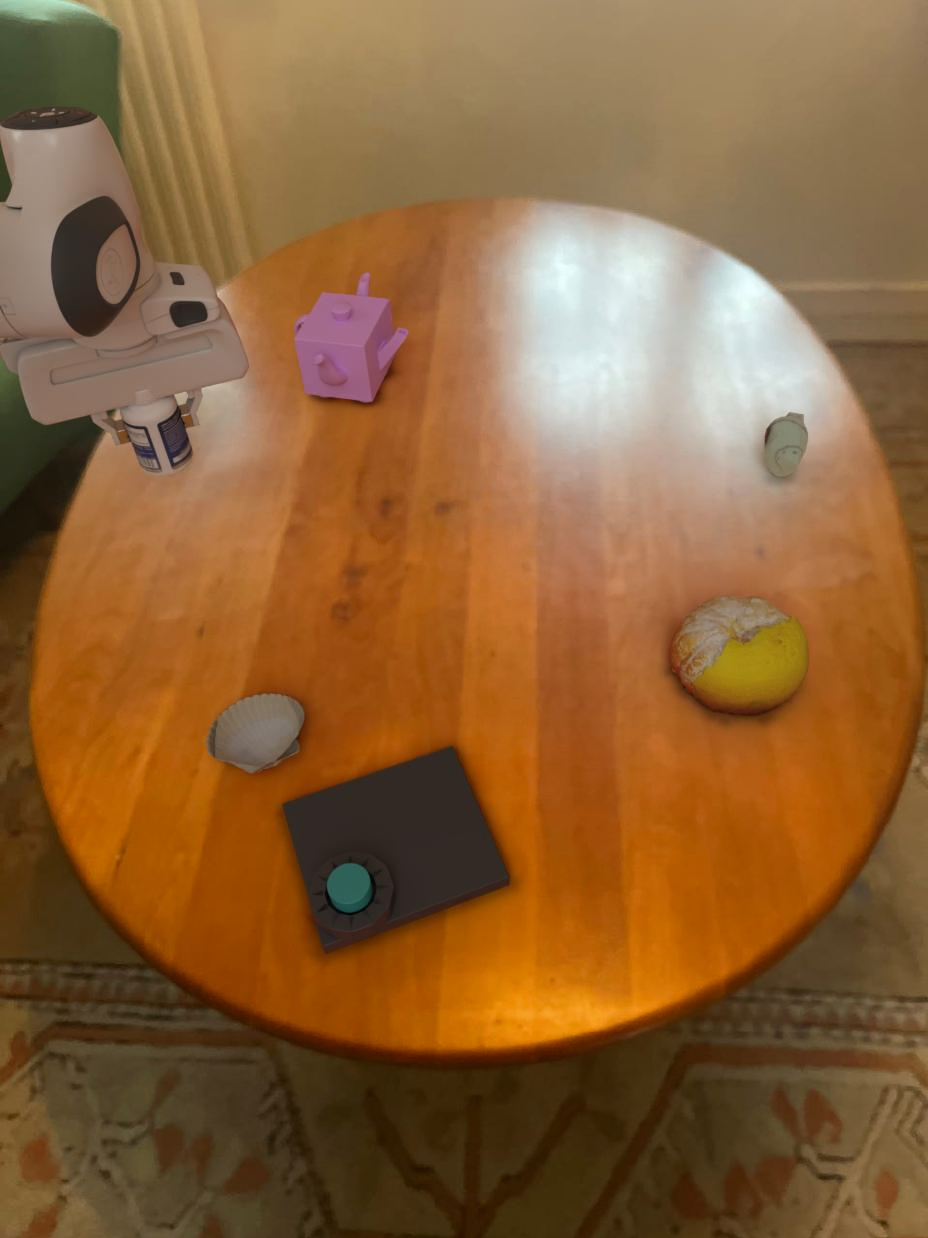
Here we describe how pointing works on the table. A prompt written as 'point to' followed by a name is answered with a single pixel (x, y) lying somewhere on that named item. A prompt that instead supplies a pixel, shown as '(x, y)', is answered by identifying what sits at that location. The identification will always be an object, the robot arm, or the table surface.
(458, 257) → the table surface
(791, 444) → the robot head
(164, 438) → the pill bottle
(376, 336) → the teapot
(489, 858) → the black button board
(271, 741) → the seashell
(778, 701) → the fruit
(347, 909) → the button
